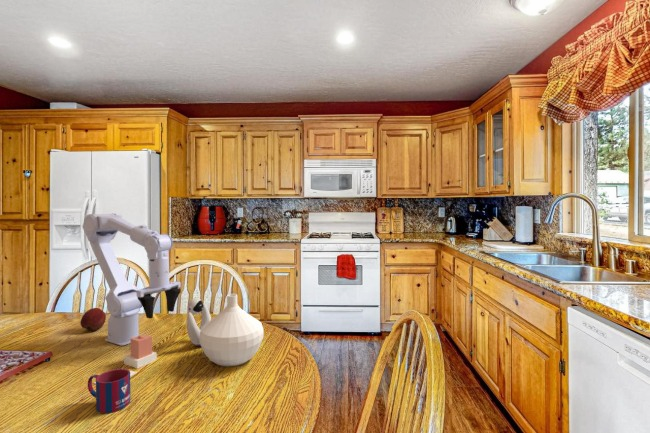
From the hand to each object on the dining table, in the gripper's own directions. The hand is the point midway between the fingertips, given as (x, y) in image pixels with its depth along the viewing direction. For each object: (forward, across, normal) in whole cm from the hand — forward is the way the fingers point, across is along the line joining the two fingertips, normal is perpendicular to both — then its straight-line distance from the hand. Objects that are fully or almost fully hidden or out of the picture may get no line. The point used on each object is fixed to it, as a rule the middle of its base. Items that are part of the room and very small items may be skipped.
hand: (160, 314), depth 111 cm
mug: (+11, -27, -17) cm, 34 cm away
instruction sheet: (+10, -19, -7) cm, 23 cm away
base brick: (+11, -10, -4) cm, 15 cm away
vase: (+11, +4, -26) cm, 29 cm away
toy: (+11, +7, -9) cm, 16 cm away
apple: (+10, -2, +34) cm, 35 cm away
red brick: (+8, -10, -4) cm, 14 cm away
